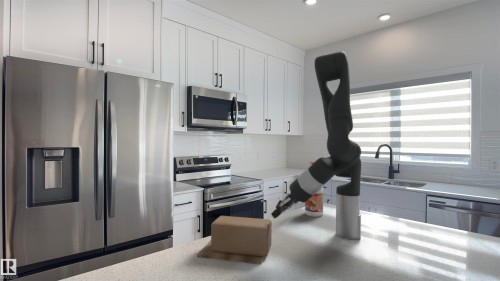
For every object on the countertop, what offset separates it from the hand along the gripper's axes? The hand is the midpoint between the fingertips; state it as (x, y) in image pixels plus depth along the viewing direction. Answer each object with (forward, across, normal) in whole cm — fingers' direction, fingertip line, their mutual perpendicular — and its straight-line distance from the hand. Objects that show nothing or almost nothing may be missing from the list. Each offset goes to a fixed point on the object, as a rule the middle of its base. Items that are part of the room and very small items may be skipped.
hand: (273, 215), depth 91 cm
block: (+5, +2, +5) cm, 7 cm away
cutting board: (+18, +6, +1) cm, 19 cm away
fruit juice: (+13, -53, +5) cm, 55 cm away
